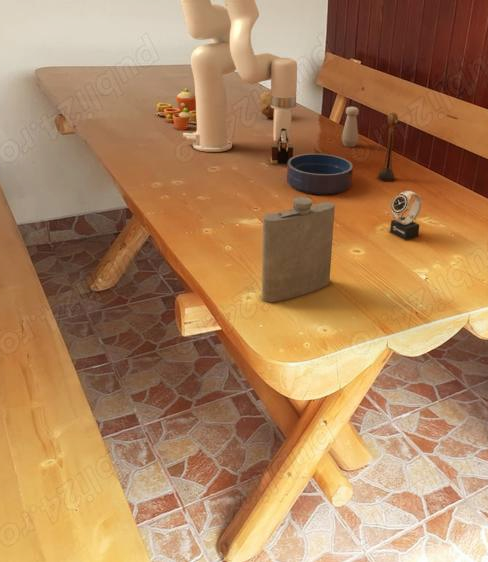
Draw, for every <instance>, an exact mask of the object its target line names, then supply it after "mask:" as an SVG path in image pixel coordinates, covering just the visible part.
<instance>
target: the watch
mask: <svg viewBox="0 0 488 562" xmlns="http://www.w3.org/2000/svg"><path fill="white" fill-rule="evenodd" d="M413 196H414V202H413V203H412V205H411V201H412V198H413ZM390 208H391V214H392V217H393V219H392V220H390V228H389V229H390V230H389V233H391V234H393V235H395V236H396V237H399V238H400V239H402V240H404V241H407V240H411V239H414V238H418V237H419V233H420V224H419V223H417V222H415V220H416V219H417V218H418V216H419V214H420V212H421V208H422V197H421V195H420V194H419V193H417V192H414V191H412V190H404V191H402V192H400V193H398V194H397V195H395V196H394V197H393V199H391V203H390ZM408 211H409V212H408ZM407 212H408V214H407V217H405V216H404V215H405V214H406V213H407Z"/></svg>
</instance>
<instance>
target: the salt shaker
mask: <svg viewBox="0 0 488 562" xmlns="http://www.w3.org/2000/svg"><path fill="white" fill-rule="evenodd" d="M359 111H360V110H359V108H358V107H356V106H348V107H346V108H345V114H346V119H345V121H344V122H345V123H344V126H343V131H342V135H341V142H342V144H343V146H344V147H346V148H347V147H348V148H354V147H356V146H357V144H358V142H359V139H360V138H359V131H358V130H359V129H358V122H357V121H358V120H357V119H358V118H357V116H358V115H359Z"/></svg>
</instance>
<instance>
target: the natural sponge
mask: <svg viewBox="0 0 488 562" xmlns="http://www.w3.org/2000/svg"><path fill="white" fill-rule="evenodd" d="M259 108H260V113H261V114H262V115H263V116H265V117H266V118H268V119H270V118H274V108H272V107H271V90H269V91H264V92H263V93H262V94H261V95H260V97H259Z"/></svg>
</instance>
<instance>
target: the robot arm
mask: <svg viewBox="0 0 488 562" xmlns="http://www.w3.org/2000/svg"><path fill="white" fill-rule="evenodd" d="M223 3H224V6H223V5H221V4H216V3H215V4H214V3H213V4H212V1H211V0H180V5H181V8H182V13H183V17H184V21H185V24H186V25H185V26H186V28H187V32H188V34H189V35H190V36H191V38H193V39H195V40H198V41H205V40H206V41H207V40H210V43H207V44H203V45H200V46H198V47H197V48H195V49H194V50H193V52H192V53H191V57H190V67H191V72H192V76H193V82H194V95H195V98H196V119H197V124H196V131H193V132H192V133H189V132H183V133H182V139H183V140H186V141H188V142H189V141H190V142H191V141H192V147H193V149H195V150H197V151H201V152H206V153H221V152H225V151H229V150H231V149H232V148H233V143H232V141H231V140H229V139H228V112H227V109H228V108H227V104H228V103H227V88H226V84H225V81H224V80H223V75H226V74H231V73H233V72H235V71H236V72H237V74H238V76H239V77H240V79H241V80H242V81H243V82H245V83H247V84H248V85H249V84H250V85H255V84H259V83H261V82H265V81H270V91H271V107H272V108H274V117H273V123H272V124H273V125H272V128H273V130H272V131H273V132H272V135H273V137H272V138H273V141H274V143H278V144H279V151H278V159H277V163H278V164H287V162H288V144H289V142H291V135H292V122H293V121H292V119H293V114H292V113H293V110H295V109H296V108H297V87H298V86H297V84H298V63H297V61H296V59H293V58H290V57H280V56H278V55H275V54H272V53H268V52H266V53H264V52H263V53H259V54H255V52H254V49H253V45H252V39H251V37H252V36H251V35H252V30H253V27H254V26H255V24H256V22H257V20H258V18H259V17H260V11H259V8H258V5H257V3H256V0H223ZM280 144H281V145H280ZM278 164H277V165H278Z"/></svg>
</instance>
